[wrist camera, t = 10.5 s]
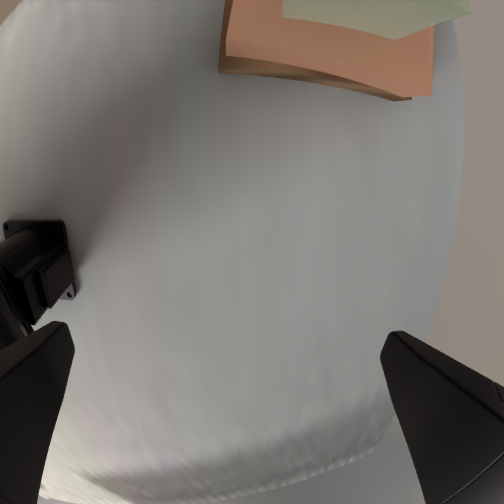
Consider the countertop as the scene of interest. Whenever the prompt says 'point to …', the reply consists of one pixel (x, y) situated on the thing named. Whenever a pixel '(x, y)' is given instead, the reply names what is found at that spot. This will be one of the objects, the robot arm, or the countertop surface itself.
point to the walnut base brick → (288, 69)
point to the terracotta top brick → (332, 48)
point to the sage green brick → (377, 14)
